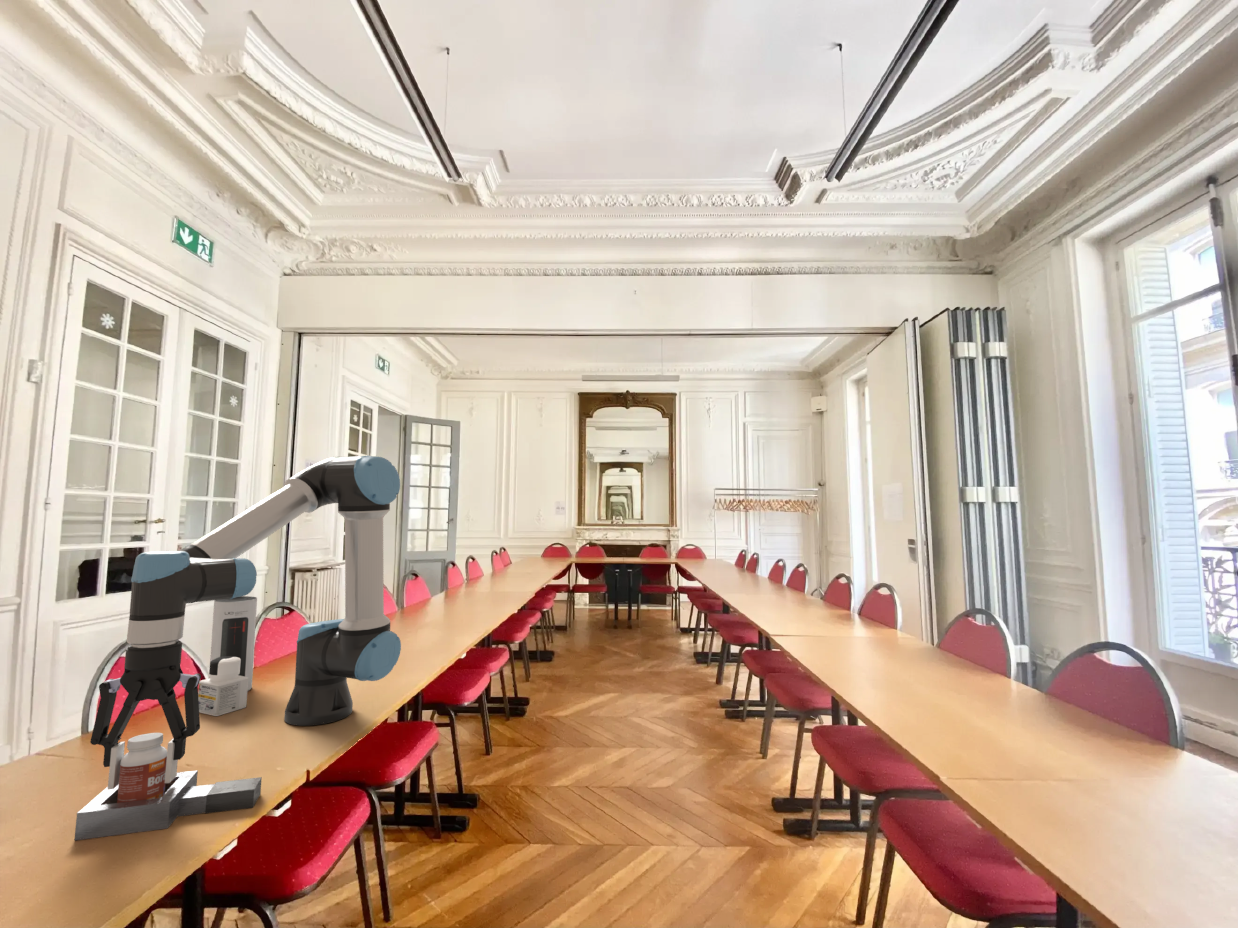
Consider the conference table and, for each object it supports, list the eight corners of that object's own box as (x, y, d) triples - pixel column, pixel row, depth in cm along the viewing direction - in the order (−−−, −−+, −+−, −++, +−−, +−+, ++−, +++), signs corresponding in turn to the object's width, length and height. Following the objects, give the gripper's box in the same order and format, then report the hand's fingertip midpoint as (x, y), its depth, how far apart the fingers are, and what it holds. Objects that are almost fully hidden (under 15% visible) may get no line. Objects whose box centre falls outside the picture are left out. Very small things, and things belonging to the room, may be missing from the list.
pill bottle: (151, 812, 94) (156, 741, 95) (107, 817, 92) (112, 745, 93) (171, 796, 100) (176, 729, 101) (130, 800, 98) (135, 732, 99)
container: (196, 712, 144) (200, 659, 145) (226, 703, 151) (230, 652, 153) (216, 717, 141) (220, 662, 142) (246, 707, 148) (250, 656, 150)
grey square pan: (265, 785, 107) (267, 763, 107) (246, 818, 95) (248, 792, 96) (114, 803, 99) (116, 779, 100) (74, 840, 88) (76, 813, 88)
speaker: (202, 698, 155) (209, 600, 157) (211, 687, 164) (218, 595, 166) (248, 694, 159) (255, 598, 161) (254, 684, 168) (261, 593, 171)
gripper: (230, 635, 105) (220, 765, 103) (94, 640, 99) (81, 780, 97) (215, 644, 98) (204, 784, 96) (69, 651, 91) (54, 801, 89)
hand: (142, 782), depth 96 cm, fingers open, 7 cm apart
